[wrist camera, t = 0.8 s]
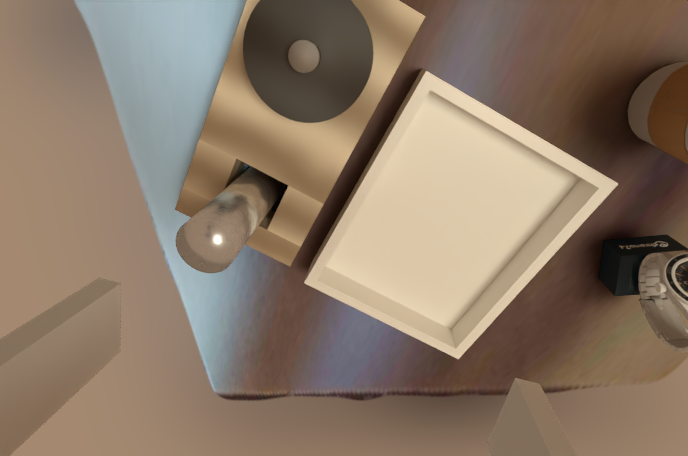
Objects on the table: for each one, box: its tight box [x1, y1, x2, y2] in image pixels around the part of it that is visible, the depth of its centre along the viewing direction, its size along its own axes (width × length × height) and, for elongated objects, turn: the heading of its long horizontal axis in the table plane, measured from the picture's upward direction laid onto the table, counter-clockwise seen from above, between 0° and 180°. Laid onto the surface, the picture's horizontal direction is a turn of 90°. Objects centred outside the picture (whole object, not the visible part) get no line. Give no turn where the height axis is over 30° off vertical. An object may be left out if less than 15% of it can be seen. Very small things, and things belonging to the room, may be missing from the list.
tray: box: [304, 69, 618, 359], centre depth 36 cm, size 22×18×4 cm
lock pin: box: [176, 166, 285, 273], centre depth 32 cm, size 4×4×14 cm
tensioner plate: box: [175, 0, 425, 266], centre depth 32 cm, size 24×12×8 cm, turn 153°
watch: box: [599, 235, 688, 352], centre depth 33 cm, size 6×8×11 cm
